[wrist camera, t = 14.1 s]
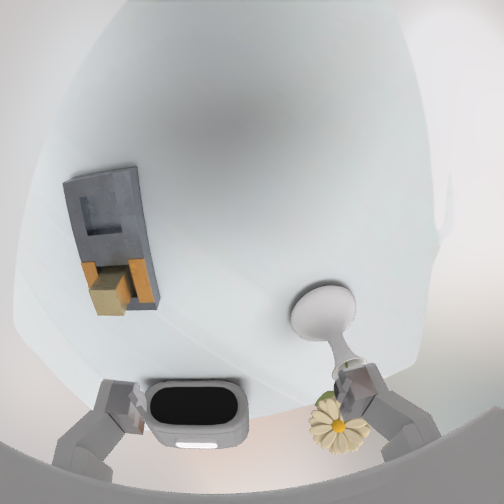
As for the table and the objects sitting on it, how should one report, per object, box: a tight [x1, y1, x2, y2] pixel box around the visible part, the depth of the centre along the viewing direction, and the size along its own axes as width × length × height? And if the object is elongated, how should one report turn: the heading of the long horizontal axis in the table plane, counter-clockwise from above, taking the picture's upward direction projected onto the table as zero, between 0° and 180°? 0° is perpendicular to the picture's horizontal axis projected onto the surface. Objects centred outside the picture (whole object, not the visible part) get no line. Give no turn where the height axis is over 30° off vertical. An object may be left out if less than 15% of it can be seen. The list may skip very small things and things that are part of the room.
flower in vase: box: [290, 286, 370, 454], centre depth 33 cm, size 13×11×25 cm
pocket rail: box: [63, 167, 160, 310], centre depth 34 cm, size 20×10×3 cm, turn 1°
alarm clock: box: [142, 380, 249, 449], centre depth 46 cm, size 21×10×13 cm, turn 90°
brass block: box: [88, 265, 135, 316], centre depth 34 cm, size 4×4×7 cm
